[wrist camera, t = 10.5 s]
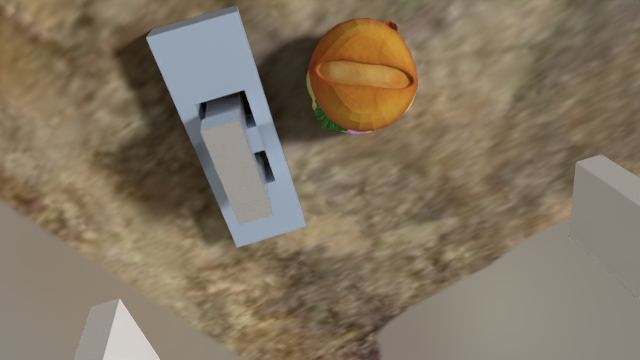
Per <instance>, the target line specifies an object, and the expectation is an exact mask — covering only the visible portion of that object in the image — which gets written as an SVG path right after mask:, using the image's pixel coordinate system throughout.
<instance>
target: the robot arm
mask: <svg viewBox="0 0 640 360" xmlns="http://www.w3.org/2000/svg"><path fill="white" fill-rule="evenodd" d="M569 237H570V238H571V239H572V240H573V241H574V242H575V243H576V244H578V245H579V246H580V247H581V248H582V249H583V250H584V251H585V252H587V254H588V255H590V256H591V257H592V258H593V259H594V260H595V261H596V262H597V263H598V264H600V265H601V266H602V267H603V268H604V269H605V270H606V271H607V272H608V273H609V274H610V275H611V276H612V277H614V278H615V279H616V280H617V281H618V282H619V283H620V284H621V285H622V286H623V287H624V288H625V289H627V290H628V291H629V292H630V293H631V294H632V295H633V296H634V297H635V298H636V299H637V300H639V301H640V178H638V177H637V176H635V175H633V174H632V173H630V172H629V171H627V170H625V169H624V168H622V167H621V166H619V165H617V164H616V163H614V162H613V161H611V160H609V159H608V158H606V157H604V156H603V155H598V156H595V157H592V158H588V159H585V160H582V161H578V162H576V168H575V178H574V188H573V197H572V207H571V217H570V227H569ZM74 360H160V359H159V357H158V356H157V354H156V353H155V351H154V350H153V348H152V347H151V345H150V344H149V342H148V341H147V339H146V338H145V336H144V335H143V333H142V332H141V330H140V329H139V327H138V326H137V324H136V323H135V321H134V320H133V318H132V317H131V315H130V314H129V312H128V311H127V309H126V308H125V306H124V305H123V303H122V302H121V300H120V299H117V300H113V301H110V302H107V303H104V304H100V305H96V306H93V307H92V308H91V310H90V313H89V316H88V319H87V322H86V325H85V328H84V331H83V334H82V337H81V340H80V343H79V345H78V348H77V351H76V355H75V357H74Z"/></svg>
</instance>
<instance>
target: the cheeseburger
mask: <svg viewBox="0 0 640 360" xmlns="http://www.w3.org/2000/svg"><path fill="white" fill-rule="evenodd" d="M417 86H418V79H417V73H416V68H415V64H414V61H413V59H412V56H411V53H410V51H409V49H408V47H407V45H406V44H405V42H404V40H403V39H402V38H401V37H400V35H399V31H398V26H397V24H396V23H395V22H393V21H390V20H389V21H388V22H386V24H385V23H383V22H380V21H377V20H373V19H370V18H359V19H351V20H348V21H345V22H343V23H340V24H337V25H336V26H335V27H333V28H332V29H330V30H329V31H328V32H327V33H326V34H325V35H324V36H323V37H322V38H321V40H320V41H319V43H318V45H317V46H316V48H315V50H314V52H313V55H312V58H311V61H310V64H309V69H308V73H307V89H308V92H309V94H310V96H311V97H312V99H313V103H312V107H313V109H314V113H315V115H316V116H317V120H320V119H323V121H322V123H321V126H320V127H322V128H325V129H326V130H336V131H338V132H340V131H342V132H344V133H349V134H355V135H358V134H363V133H370V132H373V131H376V130H379V129H381V128H384V127H387V126H389V125H391V124H392V123H394V122H395V121H397V120H398V119H399V118H400V117H401V116H402V115H403V114H404V113H405V112H406V111H407V110H408V108H409V107H410V106H411V104H412V102H413V100H414V97H415V93H416V90H417Z"/></svg>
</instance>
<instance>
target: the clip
mask: <svg viewBox="0 0 640 360" xmlns="http://www.w3.org/2000/svg"><path fill="white" fill-rule="evenodd" d="M200 132H201V135H202V137H203V139H204V142H205V144H206V147H207V149H208V151H209V154H210V156H211V159H212V161H213V163H214V166H215V168H216V171H217V173H218V175H219V178H220V180H221V183H222V185H223V187H224V190H225V192H226V195H227V197H228V199H229V202H230V204H231V207H232V209H233V211H234V214H235V216H236V219H237V221H238V223H239V225H242V224H245V223H248V222H251V221H255V220H258V219H261V218H264V217H268V216H271V215H273V211H272V205H271V200H270V197H269V192H268V186H267V180H266V174H265V168H264V162H263V159H262V156H261V153H260V151H259V152H256V153H254V152H253V149H252V146H251V144H250V141H249V138H248V132H247V123H246V114H245V107H244V104H243V101H242V98H241V95H240V93H239V92H236V93H232V94H229V95H226V96H222V97H219V98H215V99H212V100H209V101H207V104H206V113H205V119H203V120H202V122H201V130H200Z"/></svg>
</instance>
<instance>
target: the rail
mask: <svg viewBox="0 0 640 360" xmlns="http://www.w3.org/2000/svg"><path fill="white" fill-rule="evenodd" d="M146 39H147V41H148V44H149V46H150V48H151V51H152V53H153V55H154V58H155V60H156V62H157V64H158V67H159V69H160V71H161V74H162V76H163V78H164V81H165V83H166V85H167V87H168V90H169V92H170V94H171V97H172V99H173V101H174V104H175V106H176V108H177V110H178V113H179V115H180V117H181V120H182V122H183V124H184V127H185V129H186V131H187V133H188V136H189V138H190V140H191V143H192V145H193V147H194V150H195V152H196V154H197V156H198V159H199V161H200V163H201V166H202V168H203V170H204V173H205V175H206V177H207V179H208V182H209V184H210V186H211V189H212V191H213V193H214V196H215V198H216V200H217V202H218V205H219V207H220V209H221V212H222V214H223V216H224V219H225V221H226V223H227V225H228V228H229V230H230V232H231V235H232V237H233V239H234V242H235V244H236V246H237V247H241V246H244V245H247V244H250V243H253V242H257V241H260V240H263V239H266V238H270V237H273V236H276V235H279V234H283V233H286V232H289V231H292V230H295V229H299V228H302V227H305V226H306V224H305V220H304V216H303V213H302V209H301V206H300V203H299V200H298V196H297V193H296V190H295V187H294V184H293V181H292V178H291V174H290V171H289V168H288V165H287V162H286V159H285V156H284V152H283V149H282V146H281V143H280V140H279V137H278V134H277V130H276V127H275V124H274V121H273V118H272V115H271V112H270V108H269V105H268V102H267V99H266V96H265V93H264V90H263V86H262V83H261V80H260V77H259V74H258V71H257V68H256V64H255V61H254V58H253V55H252V52H251V49H250V46H249V42H248V39H247V36H246V33H245V30H244V27H243V24H242V20H241V17H240V14H239V11H238V8H237V5H235V6H232V7H228V8H225V9H221V10H218V11H214V12H211V13H207V14H204V15H200V16H197V17H193V18H190V19H186V20H183V21H179V22H176V23H172V24H169V25H165V26H162V27H158V28H155V29H152V30H151V31H150V33H149V34H148V35H147V37H146ZM243 90H245V93H246V96H247V99H248V102H249V105H250V108H251V111H252V113H251V114H248V115H246V123H247V132H248V138H249V141H250V144H251V146H252V149H253V152H254V153H256V152H259V151H263V150H265V152H266V154H267V157H268V160H269V163H270V166H267V167H264V168H265V174H266V180H267V186H268V192H269V197H270V200H271V205H272V211H273V215H271V216H268V217H264V218H261V219H258V220H255V221H251V222H248V223H245V224H242V225H239V223H238V221H237V219H236V216H235V214H234V211H233V209H232V207H231V204H230V202H229V199H228V197H227V195H226V192H225V190H224V187H223V185H222V183H221V180H220V178H219V175H218V173H217V171H216V168H215V166H214V163H213V161H212V159H211V156H210V154H209V151H208V149H207V147H206V144H205V142H204V139H203V137H202V135H201V132H200V130H201V122H202V120H203V119H205V112H204V110H203V107H202V105H201V103H202V102H205V101H209V100H212V99H215V98H219V97H222V96H226V95H229V94H232V93H236V92H239V91H243Z"/></svg>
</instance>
